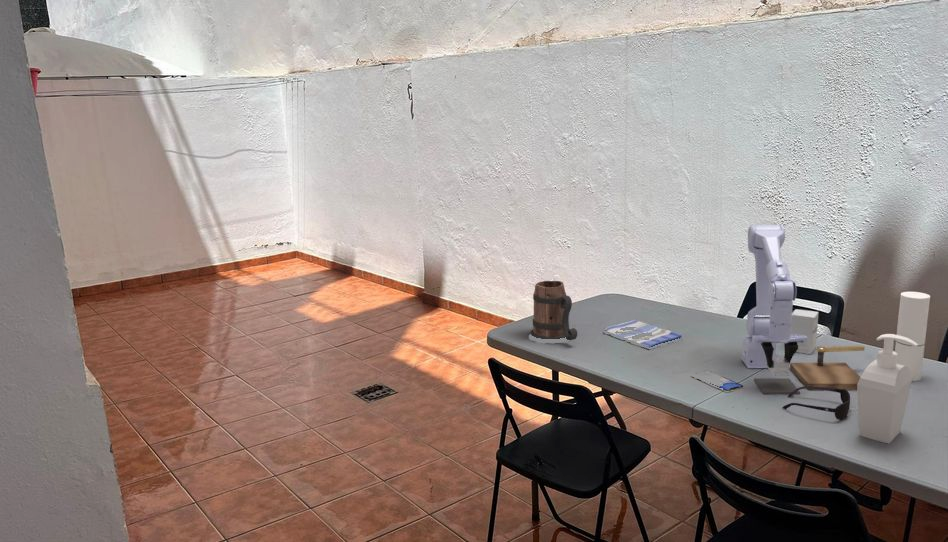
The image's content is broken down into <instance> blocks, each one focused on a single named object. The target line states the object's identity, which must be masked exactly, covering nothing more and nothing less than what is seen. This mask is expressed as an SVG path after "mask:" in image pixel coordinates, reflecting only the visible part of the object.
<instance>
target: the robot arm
mask: <svg viewBox="0 0 948 542" xmlns="http://www.w3.org/2000/svg"><path fill="white" fill-rule="evenodd" d="M747 230H748V231H747V248H748V252H749V253H752V254H753V255H754V259H755V289H756V290H755V292H756V293H755V294H756V295H755V296H756V297H755V298H756V306H754V307H753V308H751V309H750V310H749V311H748V313H747V315H746V317H747V318H746V332H747V335H748V336H747V337H746V336H745V337H744V338H743V341H742V356H741V360H742V362H743V363H744V365H745V366H746V367H747V368H748V369H768V367H769V368H772V356H773V355H777V354H776V351H777V344H784V355H783V356H784V357H785V358H786V359H787V361H788V362H789V365H790V363H791V361H792V359H793V357H794V355H795V354H796V353H797V352H796V351H797V350H798V345H797V343H803V344H807V337H806V336H805V335H794V334H791V322H792V313H793V306H794V305H793V304H794V303H793V302H795V301H796V299H797V291H798V289H797V285H796V284H797V283H796V281H795V280H794V278H793V277H791V275H790V271H789V267H788V264H787V263H786V262H785V261H784V260H782V252H781V248H782V247H783V244H784V243H785V240H786V229H785V227H784V225H783V224H768V225H767V224H763V225H762V224H761V225H759V224H758V225H757V224H755V225H754V224H751V225H750V226H748V229H747Z"/></svg>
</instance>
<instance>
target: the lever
mask: <svg viewBox="0 0 948 542" xmlns="http://www.w3.org/2000/svg"><path fill="white" fill-rule="evenodd" d="M816 348H817V349H816V352H817V353H818V352H820V353H824V354H825V353H834V352H835V353H838V352H839V353H841V352H861V351H862V352H864V351H865V346H864V345H845V346H843V345H841V346H839V345H838V346H816Z"/></svg>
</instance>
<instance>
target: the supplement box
mask: <svg viewBox="0 0 948 542" xmlns="http://www.w3.org/2000/svg"><path fill="white" fill-rule="evenodd" d="M818 325H819V311H816V310H815V311H813V310H807V309H796V308H795V309H794V310H792V322H791V334H794V335H805V336H806V337H807V344H803V343H797V345H798V350H797V351H796V352H795V353H800V354H807V355H812V353H813V352H814V350H815V349H816V348H817V337H818Z"/></svg>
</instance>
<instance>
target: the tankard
mask: <svg viewBox="0 0 948 542" xmlns="http://www.w3.org/2000/svg"><path fill="white" fill-rule="evenodd" d="M533 291H534V292H533V295H532V299H533V317H532V327H533V328H532V329H531V330H530V333H529V334H531V335H532V336H534V337H536V338H541V339H560V338H565V337H566V339H567V340H570V341H572V340H576V339H577V337H578V331H577V329H576V328H574V327H572V328H570V323H569V322H570V321H569V320H570V313H571V310H572V306H573V301H572V299H571V297H570V295H567V293H566V289H565V284H564V282H563V281H561V280H542V281H539V282H536V283H535V286H534V290H533Z"/></svg>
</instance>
